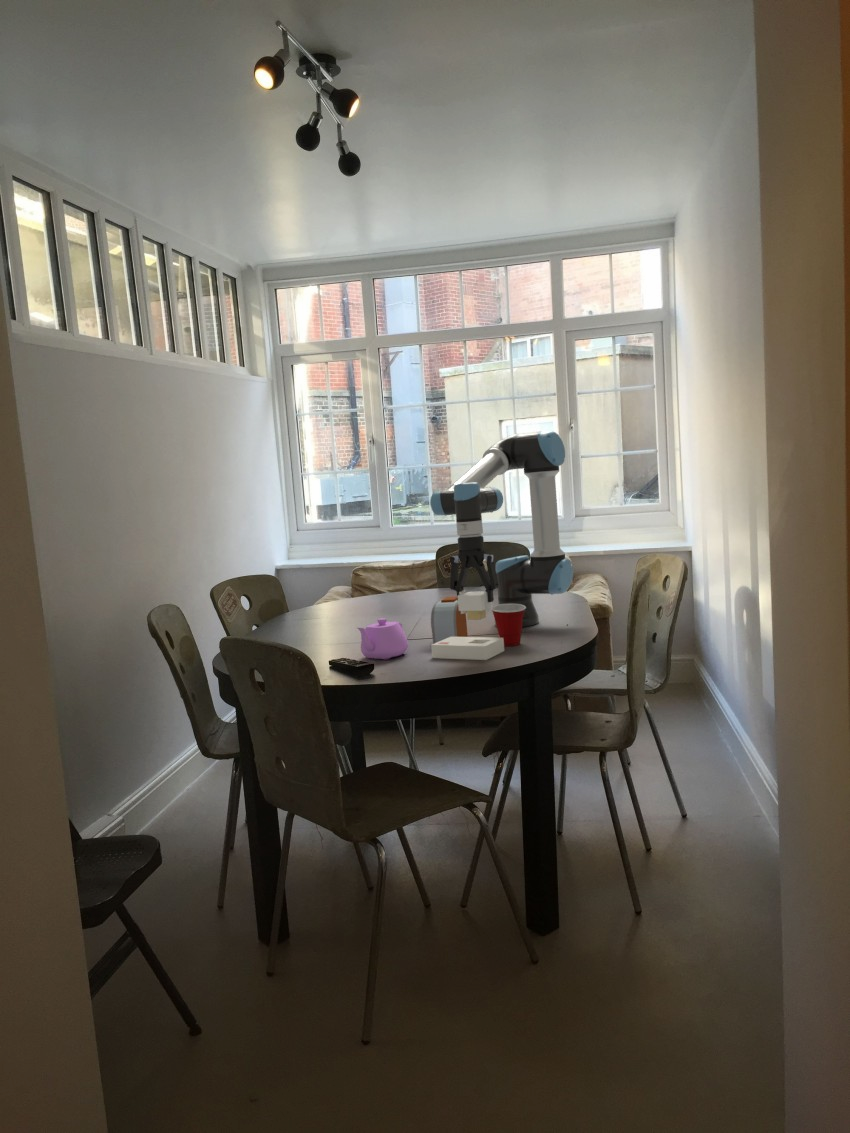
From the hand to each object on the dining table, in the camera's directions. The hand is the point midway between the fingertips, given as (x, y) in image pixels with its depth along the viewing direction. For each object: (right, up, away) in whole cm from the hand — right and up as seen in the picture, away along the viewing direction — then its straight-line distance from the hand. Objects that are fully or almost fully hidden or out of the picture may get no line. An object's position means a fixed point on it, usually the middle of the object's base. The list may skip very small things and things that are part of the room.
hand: (476, 613), depth 263 cm
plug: (0, -2, 0) cm, 2 cm away
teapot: (-28, -14, +11) cm, 33 cm away
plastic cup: (+11, -10, +13) cm, 20 cm away
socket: (-2, -12, +4) cm, 13 cm away
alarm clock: (-7, -11, +27) cm, 30 cm away
